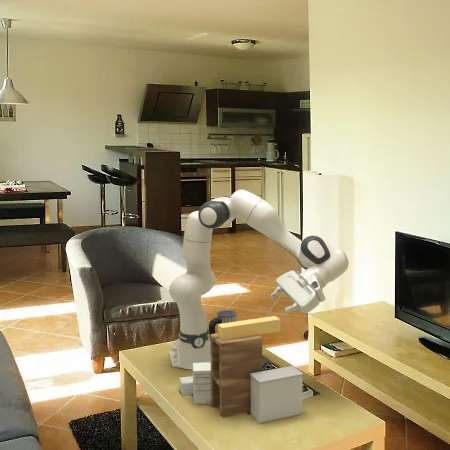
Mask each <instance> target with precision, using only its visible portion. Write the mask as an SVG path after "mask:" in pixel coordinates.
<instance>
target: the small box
mask: <svg viewBox="0 0 450 450" xmlns="http://www.w3.org/2000/svg"><path fill="white" fill-rule="evenodd" d="M179 391H180V393H181V395H182V396H183V397H185V396H192V395H193V375H192V376H191V375H190V376H185V377H184V376H183V377H179ZM193 396H194V395H193Z"/></svg>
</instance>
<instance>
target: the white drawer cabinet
mask: <svg viewBox="0 0 450 450" xmlns="http://www.w3.org/2000/svg"><path fill="white" fill-rule="evenodd" d="M192 376H193V404H194V405H203V404H204V405H207V404H210V405H211V362H205V363H193V370H192Z"/></svg>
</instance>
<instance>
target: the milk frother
mask: <svg viewBox="0 0 450 450" xmlns="http://www.w3.org/2000/svg"><path fill="white" fill-rule="evenodd" d="M216 314H217V317H214V318H212V319H211V320H210V321H209V322H208V323H209V324H208V332H209V338H208V339H210V334H216V333H218V324H223V323H230V322H236V321H237V314H238V312H237V311H234V310H229V309H222V310H219V311H217V312H216Z"/></svg>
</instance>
